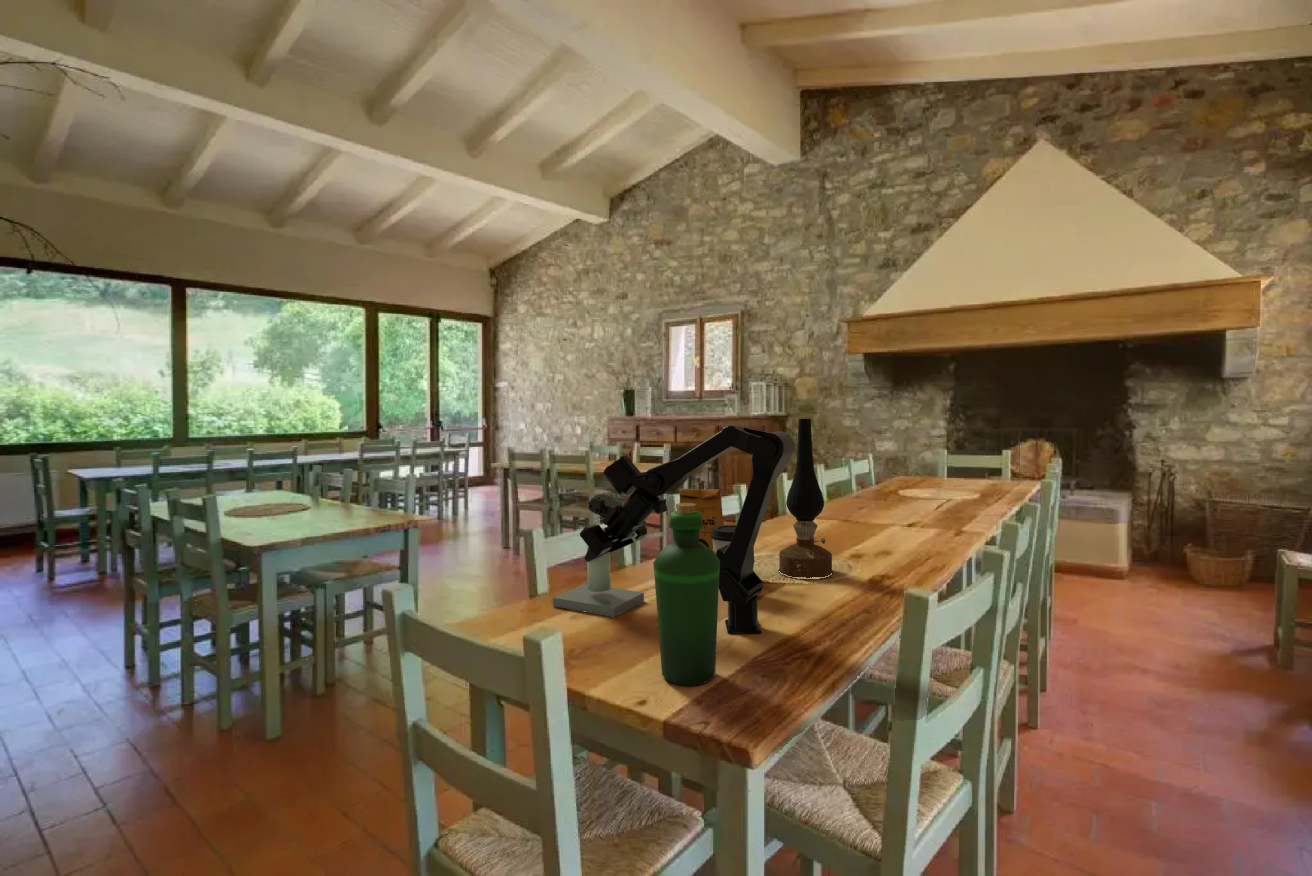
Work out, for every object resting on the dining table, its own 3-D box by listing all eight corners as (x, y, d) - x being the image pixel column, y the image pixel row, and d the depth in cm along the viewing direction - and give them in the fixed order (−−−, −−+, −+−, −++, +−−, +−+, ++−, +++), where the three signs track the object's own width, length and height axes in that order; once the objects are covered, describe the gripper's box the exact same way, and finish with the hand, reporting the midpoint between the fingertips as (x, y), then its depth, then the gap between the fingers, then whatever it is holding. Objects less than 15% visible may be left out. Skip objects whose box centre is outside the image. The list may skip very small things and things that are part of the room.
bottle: (717, 661, 111) (715, 498, 110) (726, 689, 101) (723, 509, 99) (654, 663, 111) (651, 500, 109) (656, 692, 100) (653, 511, 99)
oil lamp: (797, 595, 159) (796, 437, 148) (765, 570, 173) (761, 423, 162) (845, 582, 164) (847, 427, 153) (809, 558, 177) (809, 415, 167)
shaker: (604, 592, 141) (602, 532, 140) (583, 590, 143) (582, 531, 142) (614, 586, 145) (612, 528, 145) (594, 584, 147) (592, 527, 147)
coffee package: (722, 580, 161) (721, 491, 160) (674, 577, 165) (672, 490, 164) (731, 570, 170) (730, 486, 169) (685, 567, 174) (684, 485, 173)
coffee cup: (753, 587, 155) (752, 524, 154) (755, 599, 145) (754, 532, 144) (711, 586, 156) (710, 524, 155) (710, 599, 146) (709, 532, 145)
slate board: (644, 601, 146) (643, 592, 146) (614, 617, 135) (614, 607, 135) (585, 591, 154) (585, 583, 153) (553, 606, 143) (552, 597, 143)
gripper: (634, 478, 149) (595, 522, 155) (586, 488, 133) (545, 537, 139) (665, 514, 145) (624, 558, 152) (619, 530, 129) (576, 578, 135)
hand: (593, 557), depth 144 cm, fingers closed on shaker, 5 cm apart
